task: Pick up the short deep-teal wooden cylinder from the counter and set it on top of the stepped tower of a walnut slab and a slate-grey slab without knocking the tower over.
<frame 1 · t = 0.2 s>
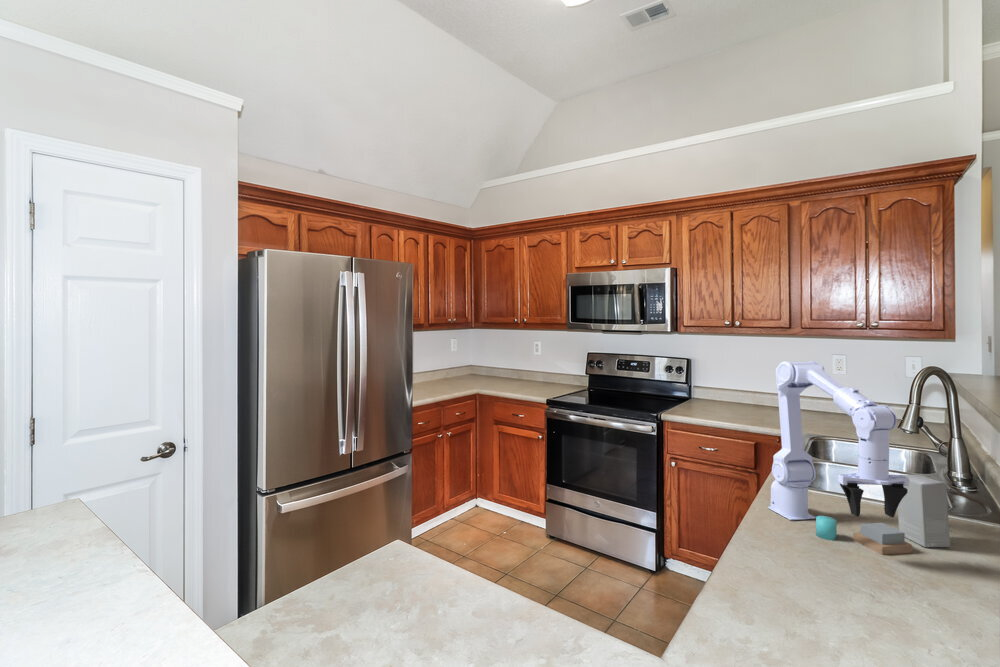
hand: (872, 515, 115), 10 cm above the worktop, tool pointing down, fingers open, 7 cm apart
walnut base slab: (881, 548, 121), on the worktop, touching slate top slab
teal cylinder: (826, 536, 127), on the worktop
slate top slab: (882, 538, 121), point 2 cm above the worktop, touching walnut base slab
skincare box: (921, 541, 124), on the worktop
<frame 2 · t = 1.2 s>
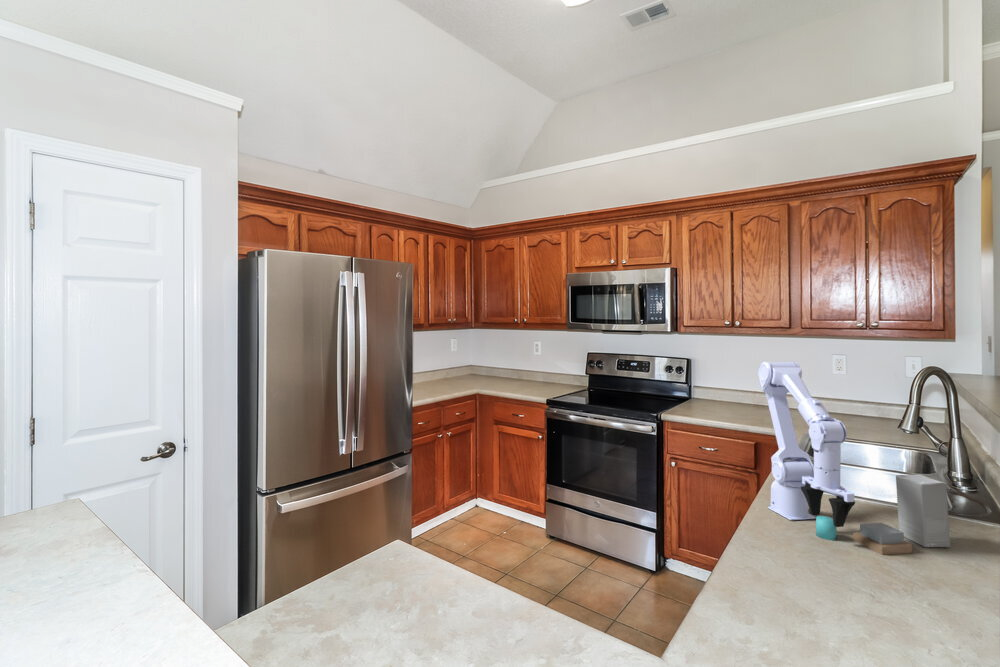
hand: (826, 520, 127), 4 cm above the worktop, tool pointing down, fingers open, 7 cm apart
nothing on the worktop moved.
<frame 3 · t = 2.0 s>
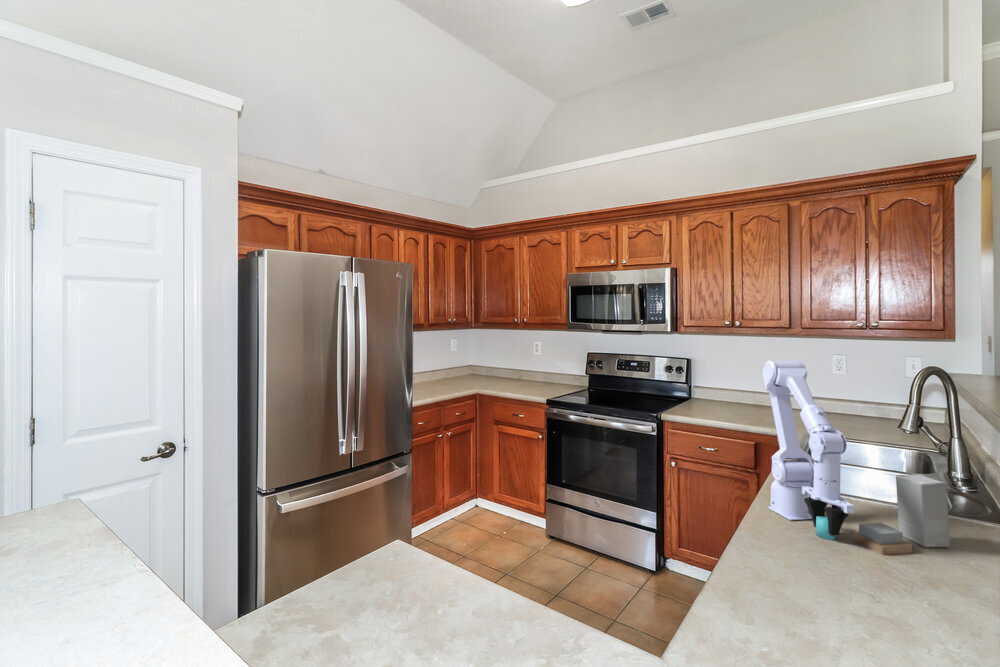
hand: (826, 530, 127), 1 cm above the worktop, tool pointing down, fingers closed on teal cylinder, 4 cm apart
walnut base slab: (881, 548, 121), on the worktop
teal cylinder: (826, 536, 127), on the worktop, touching gripper
slate top slab: (880, 538, 121), point 2 cm above the worktop
everything else where it was.
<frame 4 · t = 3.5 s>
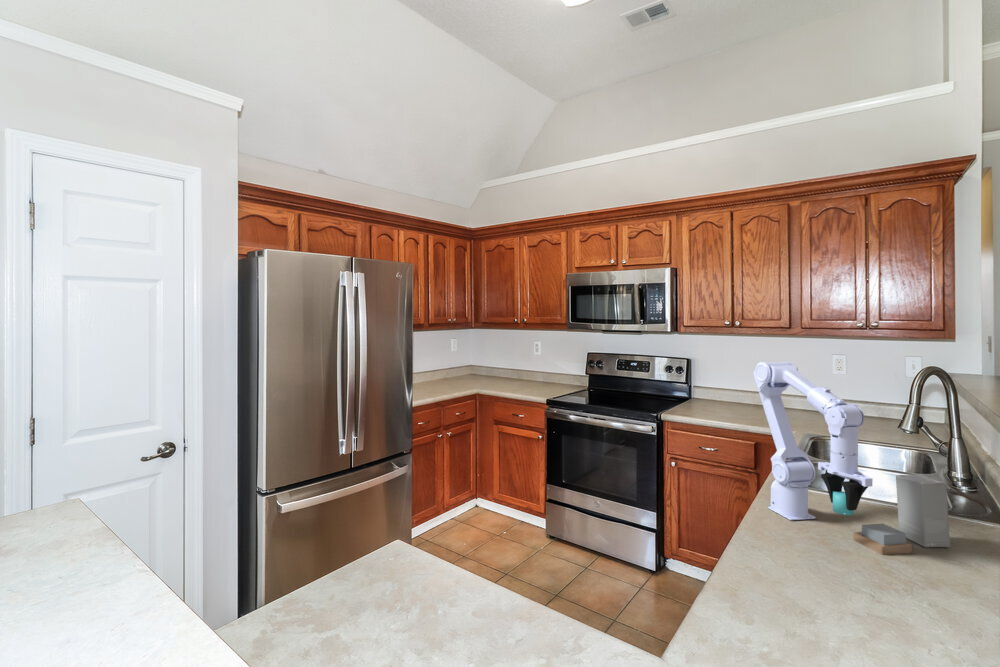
hand: (843, 506, 125), 8 cm above the worktop, tool pointing down, fingers closed on teal cylinder, 4 cm apart
walnut base slab: (881, 548, 121), on the worktop, touching slate top slab
teal cylinder: (843, 511, 125), point 7 cm above the worktop, touching gripper
slate top slab: (883, 539, 121), point 2 cm above the worktop, touching walnut base slab
everything else where it was.
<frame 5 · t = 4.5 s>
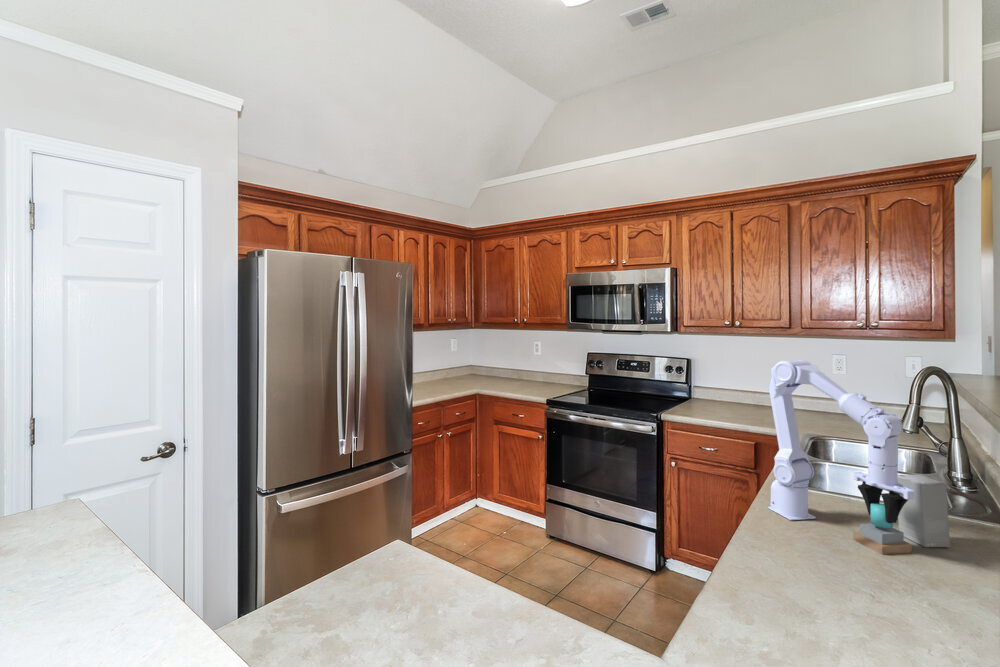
hand: (882, 518, 121), 7 cm above the worktop, tool pointing down, fingers closed on teal cylinder, 4 cm apart
walnut base slab: (881, 548, 121), on the worktop
teal cylinder: (881, 524, 121), point 5 cm above the worktop, touching gripper
slate top slab: (881, 538, 121), point 2 cm above the worktop
everything else where it was.
when the fingers open (7 cm above the worktop, at t = 4.7 s): teal cylinder drops 1 cm, resting on slate top slab.
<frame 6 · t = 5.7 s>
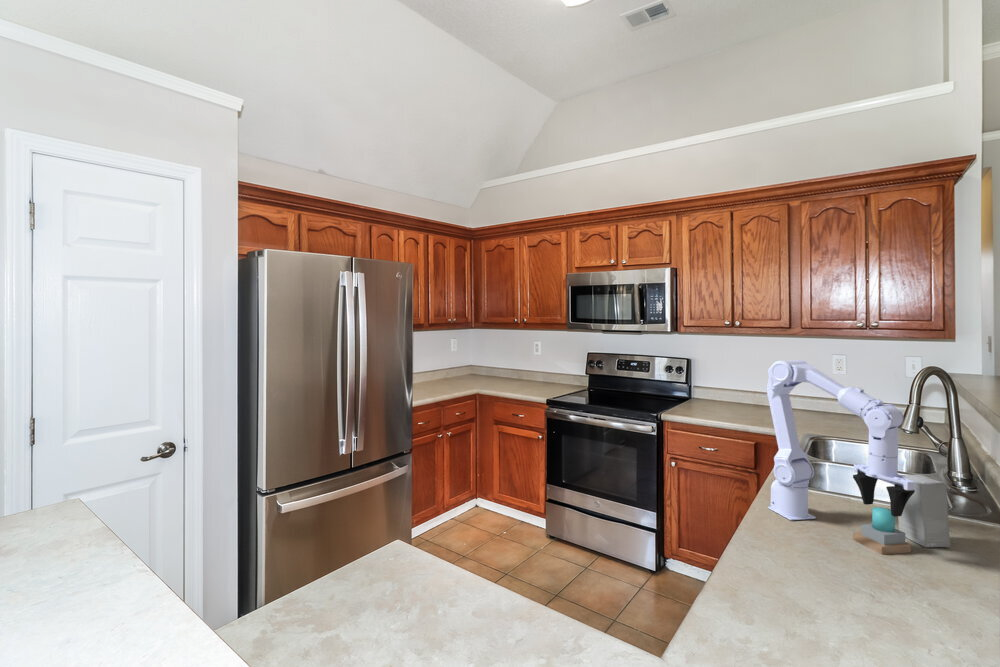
hand: (881, 509, 121), 9 cm above the worktop, tool pointing down, fingers open, 7 cm apart
walnut base slab: (881, 548, 121), on the worktop, touching slate top slab
teal cylinder: (883, 528, 121), point 4 cm above the worktop, touching slate top slab
slate top slab: (883, 538, 121), point 2 cm above the worktop, touching teal cylinder, walnut base slab
everything else where it was.
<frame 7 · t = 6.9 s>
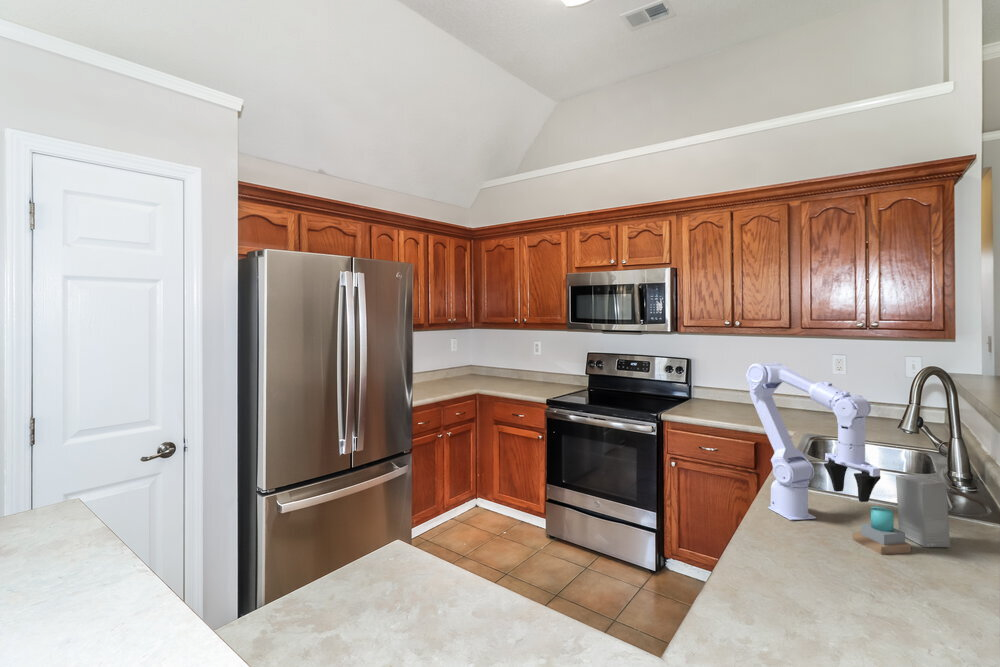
hand: (850, 496, 126), 10 cm above the worktop, tool pointing down, fingers open, 7 cm apart
walnut base slab: (880, 548, 121), on the worktop
slate top slab: (882, 538, 121), point 2 cm above the worktop, touching teal cylinder
everything else where it was.
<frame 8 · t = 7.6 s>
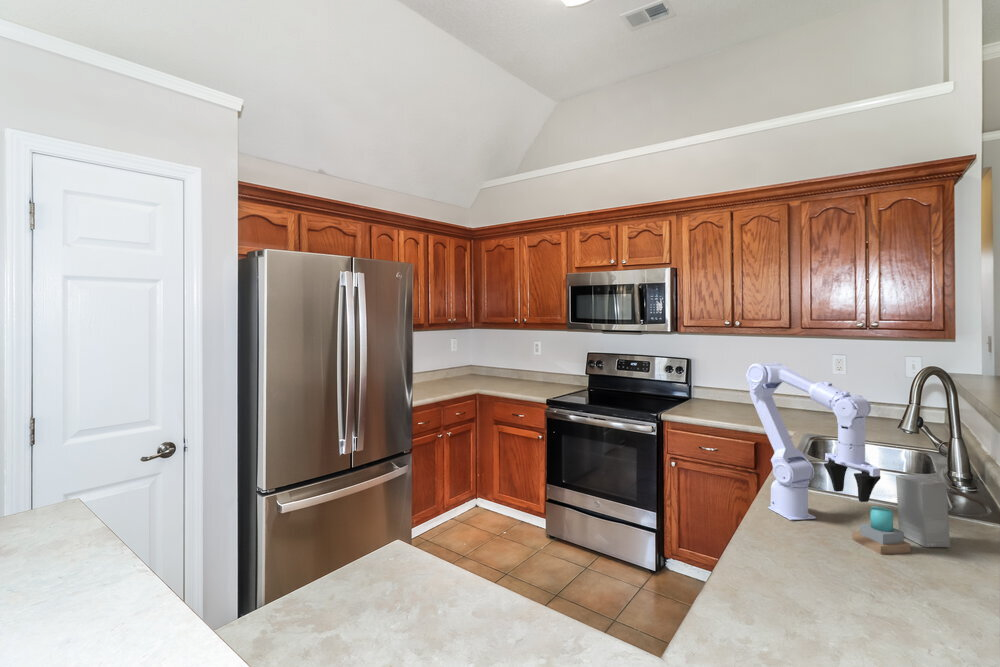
hand: (850, 496, 126), 10 cm above the worktop, tool pointing down, fingers open, 7 cm apart
walnut base slab: (880, 547, 121), on the worktop, touching slate top slab
teal cylinder: (881, 527, 121), point 4 cm above the worktop
slate top slab: (881, 538, 121), point 2 cm above the worktop, touching walnut base slab
everything else where it was.
at the end: teal cylinder 0.1 cm off-centre on the slate top slab, point 2.6 cm above the slate top slab's base; slate top slab 0.1 cm from the target spot, point 1.7 cm above the worktop; teal cylinder tilted 1° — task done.
